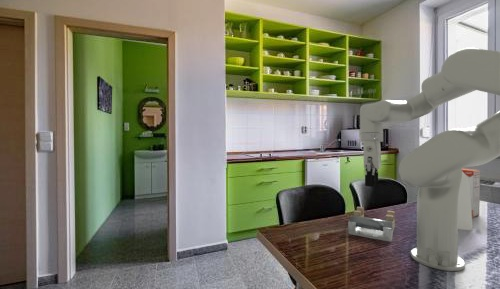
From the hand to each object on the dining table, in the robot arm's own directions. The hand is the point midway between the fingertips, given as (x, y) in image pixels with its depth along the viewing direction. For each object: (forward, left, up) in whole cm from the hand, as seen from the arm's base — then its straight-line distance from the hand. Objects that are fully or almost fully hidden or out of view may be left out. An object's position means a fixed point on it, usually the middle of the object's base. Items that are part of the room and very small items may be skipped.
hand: (371, 184), depth 93 cm
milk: (+28, -25, -19) cm, 42 cm away
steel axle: (0, 0, -17) cm, 17 cm away
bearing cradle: (+10, 0, -19) cm, 21 cm away
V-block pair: (0, +1, -19) cm, 19 cm away
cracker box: (+50, -31, -19) cm, 62 cm away
